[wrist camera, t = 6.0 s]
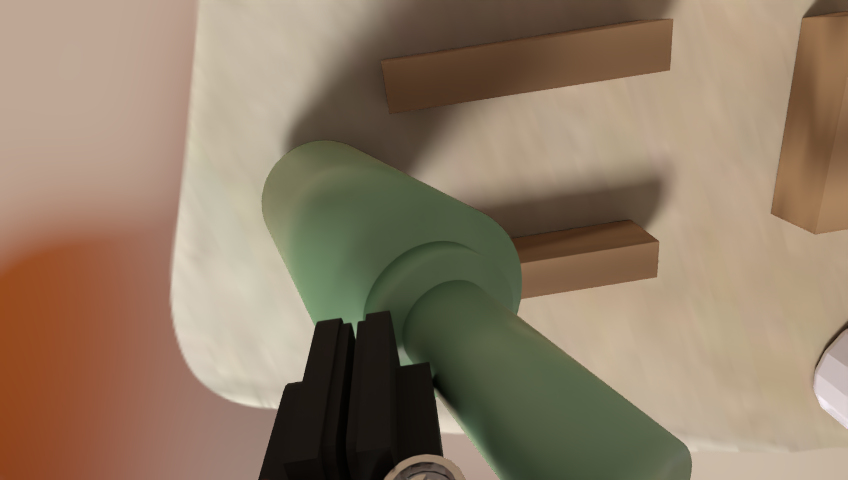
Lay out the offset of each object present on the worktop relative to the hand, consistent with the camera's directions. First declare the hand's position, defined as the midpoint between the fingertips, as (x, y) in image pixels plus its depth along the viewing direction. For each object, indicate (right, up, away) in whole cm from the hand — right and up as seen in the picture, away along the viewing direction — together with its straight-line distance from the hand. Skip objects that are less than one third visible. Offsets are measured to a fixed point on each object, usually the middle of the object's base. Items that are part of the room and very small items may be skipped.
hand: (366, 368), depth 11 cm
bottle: (-3, +5, +12) cm, 14 cm away
